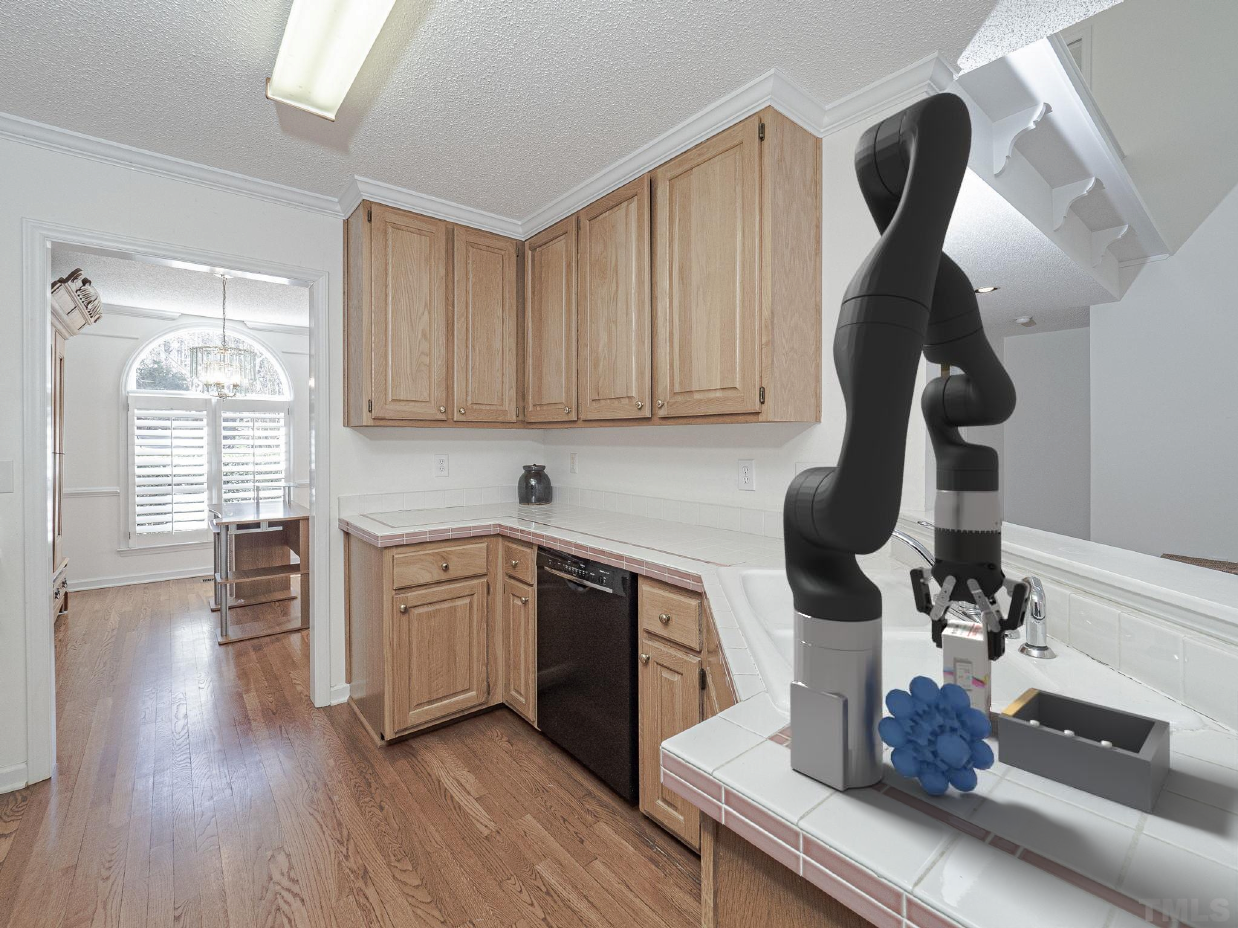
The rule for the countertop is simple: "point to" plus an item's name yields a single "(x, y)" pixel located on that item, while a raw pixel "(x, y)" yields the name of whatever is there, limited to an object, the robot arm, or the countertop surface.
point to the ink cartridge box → (968, 660)
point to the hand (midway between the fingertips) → (967, 652)
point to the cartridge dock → (1087, 746)
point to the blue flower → (936, 735)
